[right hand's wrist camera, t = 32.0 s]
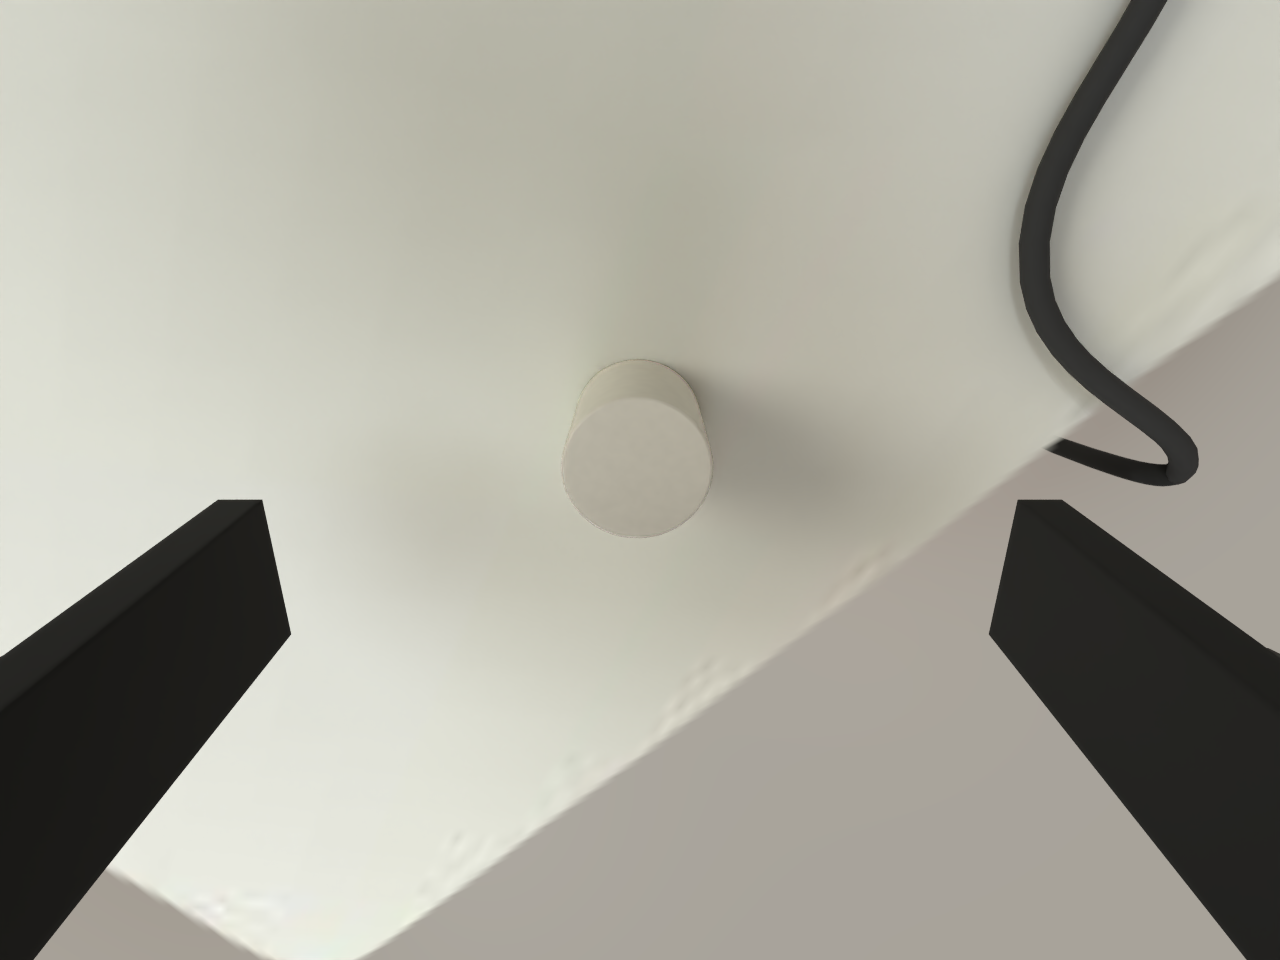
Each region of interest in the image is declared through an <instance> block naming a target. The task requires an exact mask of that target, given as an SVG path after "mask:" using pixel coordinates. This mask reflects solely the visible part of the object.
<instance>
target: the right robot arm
mask: <svg viewBox="0 0 1280 960" xmlns="http://www.w3.org/2000/svg"><path fill="white" fill-rule="evenodd" d="M1166 2H1167V0H1131V2H1130V4H1129V5H1128V7H1127V9H1126V11H1125V12H1124V14H1123V16H1122V18H1121V20H1120V21H1119V23H1118V25H1117V26H1116V28H1115V30H1114V31H1113V33H1112V34H1111V36H1110V38H1109V39H1108V41H1107V43H1106V44H1105V46H1104V48H1103V49H1102V51H1101V53H1100V54H1099V56H1098V58H1097V59H1096V61H1095V63H1094V64H1093V66H1092V68H1091V69H1090V71H1089V73H1088V74H1087V76H1086V78H1085V79H1084V81H1083V83H1082V84H1081V86H1080V87H1079V89H1078V91H1077V92H1076V94H1075V96H1074V98H1073V99H1072V101H1071V103H1070V105H1069V107H1068V108H1067V110H1066V112H1065V114H1064V116H1063V117H1062V119H1061V121H1060V123H1059V125H1058V127H1057V128H1056V130H1055V132H1054V134H1053V136H1052V138H1051V141H1050V143H1049V145H1048V147H1047V149H1046V151H1045V154H1044V156H1043V158H1042V160H1041V162H1040V164H1039V167H1038V169H1037V172H1036V175H1035V178H1034V181H1033V184H1032V187H1031V190H1030V193H1029V196H1028V199H1027V202H1026V205H1025V210H1024V216H1023V222H1022V228H1021V234H1020V240H1019V265H1020V284H1021V289H1022V293H1023V297H1024V301H1025V306H1026V310H1027V312H1028V314H1029V316H1030V318H1031V321H1032V323H1033V325H1034V327H1035V329H1036V332H1037V333H1038V335H1039V336H1040V338H1041V339H1042V341H1043V342H1044V344H1045V345H1046V346H1047V348H1048V349H1049V351H1050V352H1051V354H1052V355H1053V356H1054V357H1055V358H1056V360H1057V361H1058V362H1059V363H1060V364H1061V365H1062V366H1063V367H1064V368H1065V369H1066V371H1067V372H1068V373H1069V374H1070V375H1071V376H1073V377H1074V378H1075V379H1076V380H1077V381H1078V382H1079V383H1080V384H1081V385H1082V386H1084V387H1085V388H1086V389H1087V390H1088V391H1089V392H1091V393H1092V394H1093V395H1094V396H1096V397H1097V398H1098V399H1100V400H1101V401H1102V402H1103V403H1105V404H1106V405H1107V406H1109V407H1110V408H1111V409H1113V410H1114V411H1115V412H1117V413H1118V414H1120V415H1121V416H1122V417H1123V418H1125V419H1126V420H1128V421H1129V422H1130V423H1132V424H1133V425H1134V426H1136V427H1137V428H1139V429H1140V430H1141V431H1142V432H1144V433H1145V434H1146V435H1147V436H1149V437H1150V438H1151V439H1153V440H1154V441H1155V442H1156V443H1157V444H1158V445H1159V446H1160V447H1161V448H1162V449H1163V451H1164V452H1165V454H1166V455H1167V457H1168V463H1167V464H1153V463H1147V462H1141V461H1137V460H1133V459H1129V458H1125V457H1121V456H1118V455H1114V454H1111V453H1108V452H1104V451H1101V450H1097V449H1094V448H1091V447H1088V446H1085V445H1082V444H1079V443H1076V442H1073V441H1070V440H1067V439H1064V438H1059V439H1058V440H1057V441H1055V442H1054V443H1052V444H1051V445H1049V446H1048V447H1047V448H1045V450H1047V451H1049V452H1051V453H1054V454H1056V455H1059V456H1062V457H1064V458H1067V459H1069V460H1072V461H1075V462H1077V463H1080V464H1082V465H1085V466H1087V467H1090V468H1093V469H1096V470H1099V471H1102V472H1105V473H1108V474H1110V475H1113V476H1116V477H1120V478H1123V479H1126V480H1130V481H1133V482H1137V483H1141V484H1146V485H1152V486H1173V485H1179V484H1182V483H1184V482H1186V481H1187V480H1188V479H1189V478H1191V477H1192V476H1193V475H1194V474H1195V473H1196V470H1197V468H1198V461H1199V458H1198V450H1197V447H1196V445H1195V444H1194V442H1193V441H1192V439H1191V437H1190V436H1189V435H1188V434H1187V433H1186V432H1185V431H1184V430H1183V429H1182V428H1181V427H1180V426H1179V425H1178V424H1177V423H1176V422H1175V421H1173V420H1172V419H1171V418H1170V417H1169V416H1167V415H1166V414H1165V413H1164V412H1162V411H1161V410H1160V409H1159V408H1157V407H1156V406H1155V405H1153V404H1152V403H1151V402H1149V401H1148V400H1147V399H1145V398H1144V397H1143V396H1141V395H1140V394H1139V393H1137V392H1136V391H1134V390H1133V389H1132V388H1130V387H1129V386H1128V385H1126V384H1125V383H1124V382H1123V381H1121V380H1120V379H1119V378H1117V377H1116V376H1115V375H1114V374H1112V373H1111V372H1110V371H1109V370H1107V369H1106V368H1105V367H1104V366H1103V365H1102V364H1101V363H1100V362H1099V361H1097V360H1096V359H1095V358H1094V357H1093V356H1092V355H1091V354H1090V353H1089V352H1088V351H1087V350H1086V349H1085V348H1084V347H1083V345H1082V344H1081V343H1080V342H1079V341H1078V340H1077V339H1076V337H1075V336H1074V334H1073V333H1072V331H1071V330H1070V328H1069V327H1068V325H1067V324H1066V322H1065V321H1064V319H1063V317H1062V314H1061V312H1060V310H1059V308H1058V305H1057V303H1056V301H1055V297H1054V293H1053V288H1052V283H1051V279H1050V237H1051V232H1052V226H1053V220H1054V215H1055V209H1056V206H1057V203H1058V200H1059V197H1060V194H1061V191H1062V188H1063V186H1064V183H1065V180H1066V177H1067V174H1068V172H1069V170H1070V168H1071V166H1072V163H1073V161H1074V159H1075V157H1076V155H1077V153H1078V151H1079V149H1080V147H1081V145H1082V143H1083V141H1084V138H1085V137H1086V135H1087V133H1088V131H1089V130H1090V128H1091V126H1092V124H1093V123H1094V121H1095V119H1096V117H1097V116H1098V114H1099V112H1100V110H1101V109H1102V107H1103V105H1104V103H1105V102H1106V100H1107V99H1108V97H1109V95H1110V94H1111V92H1112V91H1113V89H1114V87H1115V86H1116V84H1117V82H1118V81H1119V79H1120V78H1121V76H1122V74H1123V73H1124V71H1125V70H1126V68H1127V66H1128V65H1129V63H1130V61H1131V60H1132V58H1133V57H1134V55H1135V53H1136V52H1137V50H1138V49H1139V47H1140V45H1141V44H1142V42H1143V41H1144V39H1145V37H1146V36H1147V34H1148V32H1149V31H1150V29H1151V28H1152V26H1153V24H1154V22H1155V21H1156V19H1157V17H1158V16H1159V14H1160V12H1161V10H1162V9H1163V7H1164V5H1165V3H1166ZM290 635H291V631H290V627H289V622H288V617H287V613H286V608H285V603H284V599H283V594H282V589H281V585H280V580H279V576H278V571H277V566H276V562H275V557H274V552H273V548H272V543H271V538H270V534H269V529H268V524H267V520H266V515H265V511H264V506H263V501H262V500H217V501H216V502H214V503H213V504H212V505H210V506H209V507H207V508H206V509H205V510H203V511H202V512H201V513H199V514H198V515H196V516H195V517H194V518H192V519H191V520H189V521H188V522H187V523H185V524H184V525H183V526H181V527H180V528H178V529H177V530H176V531H174V532H173V533H172V534H170V535H169V536H167V537H166V538H165V539H163V540H162V541H161V542H159V543H158V544H156V545H155V546H154V547H152V548H151V549H150V550H148V551H147V552H145V553H144V554H143V555H141V556H140V557H138V558H137V559H136V560H134V561H133V562H132V563H130V564H129V565H127V566H126V567H125V568H123V569H122V570H121V571H119V572H118V573H116V574H115V575H114V576H112V577H111V578H110V579H108V580H107V581H105V582H104V583H103V584H101V585H100V586H98V587H97V588H96V589H94V590H93V591H92V592H90V593H89V594H87V595H86V596H85V597H83V598H82V599H81V600H79V601H78V602H76V603H75V604H74V605H72V606H71V607H70V608H68V609H67V610H65V611H64V612H63V613H61V614H60V615H59V616H57V617H56V618H54V619H53V620H52V621H50V622H49V623H47V624H46V625H45V626H43V627H42V628H41V629H39V630H38V631H36V632H35V633H34V634H32V635H31V636H30V637H28V638H27V639H25V640H24V641H23V642H21V643H20V644H19V645H17V646H16V647H14V648H13V649H12V650H10V651H9V652H7V653H6V654H5V655H3V656H1V657H0V960H34V958H35V957H36V956H37V954H38V953H39V952H40V951H41V949H42V948H43V947H44V946H45V944H46V943H47V942H48V941H49V939H50V938H51V937H52V936H53V934H54V933H55V932H56V931H57V929H58V928H59V927H60V925H61V924H62V923H63V922H64V920H65V919H66V918H67V917H68V915H69V914H70V913H71V911H72V910H73V909H74V908H75V907H76V905H77V904H78V903H79V901H80V900H81V899H82V898H83V896H84V895H85V894H86V893H87V891H88V890H89V889H90V888H91V886H92V885H93V884H94V882H95V881H96V880H97V879H98V877H99V876H100V875H101V874H102V872H103V871H104V870H105V869H106V867H107V866H108V865H109V864H110V862H111V861H112V860H113V859H114V857H115V856H116V855H117V853H118V852H119V851H120V850H121V848H122V847H123V846H124V845H125V843H126V842H127V841H128V840H129V838H130V837H131V836H132V835H133V833H134V832H135V831H136V829H137V828H138V827H139V826H140V824H141V823H142V822H143V821H144V819H145V818H146V817H147V816H148V814H149V813H150V812H151V811H152V809H153V808H154V807H155V806H156V804H157V803H158V802H159V800H160V799H161V798H162V797H163V795H164V794H165V793H166V792H167V790H168V789H169V788H170V787H171V785H172V784H173V783H174V782H175V780H176V779H177V778H178V776H179V775H180V774H181V773H182V771H183V770H184V769H185V768H186V766H187V765H188V764H189V763H190V761H191V760H192V759H193V758H194V756H195V755H196V754H197V752H198V751H199V750H200V749H201V747H202V746H203V745H204V744H205V742H206V741H207V740H208V739H209V737H210V736H211V735H212V734H213V732H214V731H215V730H216V728H217V727H218V726H219V725H220V723H221V722H222V721H223V720H224V718H225V717H226V716H227V715H228V713H229V712H230V711H231V710H232V708H233V707H234V706H235V704H236V703H237V702H238V701H239V699H240V698H241V697H242V696H243V694H244V693H245V692H246V691H247V689H248V688H249V687H250V686H251V684H252V683H253V682H254V681H255V679H256V678H257V677H258V675H259V674H260V673H261V672H262V670H263V669H264V668H265V667H266V665H267V664H268V663H269V662H270V660H271V659H272V658H273V657H274V655H275V654H276V653H277V651H278V650H279V649H280V648H281V646H282V645H283V644H284V643H285V641H286V640H287V639H288V638H289V636H290ZM989 635H990V636H991V638H992V639H993V640H994V641H995V643H996V644H997V645H998V646H999V648H1000V649H1001V650H1002V651H1003V653H1004V654H1005V655H1006V656H1007V658H1008V659H1009V660H1010V662H1011V663H1012V664H1013V665H1014V667H1015V668H1016V669H1017V670H1018V672H1019V673H1020V674H1021V675H1022V677H1023V678H1024V679H1025V681H1026V682H1027V683H1028V684H1029V686H1030V687H1031V688H1032V689H1033V691H1034V692H1035V693H1036V694H1037V696H1038V697H1039V698H1040V699H1041V701H1042V702H1043V703H1044V704H1045V706H1046V707H1047V708H1048V709H1049V711H1050V712H1051V713H1052V715H1053V716H1054V717H1055V718H1056V720H1057V721H1058V722H1059V723H1060V725H1061V726H1062V727H1063V728H1064V730H1065V731H1066V732H1067V734H1068V735H1069V736H1070V737H1071V738H1072V740H1073V741H1074V742H1075V744H1076V745H1077V746H1078V747H1079V749H1080V750H1081V751H1082V752H1083V754H1084V755H1085V756H1086V758H1087V759H1088V760H1089V761H1090V763H1091V764H1092V765H1093V766H1094V768H1095V769H1096V770H1097V771H1098V773H1099V774H1100V775H1101V776H1102V778H1103V779H1104V780H1105V781H1106V783H1107V784H1108V785H1109V787H1110V788H1111V789H1112V790H1113V792H1114V793H1115V794H1116V795H1117V797H1118V798H1119V799H1120V800H1121V802H1122V803H1123V804H1124V806H1125V807H1126V808H1127V809H1128V811H1129V812H1130V813H1131V814H1132V816H1133V817H1134V818H1135V819H1136V821H1137V822H1138V823H1139V824H1140V826H1141V827H1142V828H1143V829H1144V831H1145V832H1146V833H1147V835H1148V836H1149V837H1150V838H1151V840H1152V841H1153V842H1154V843H1155V845H1156V846H1157V847H1158V848H1159V850H1160V851H1161V852H1162V853H1163V855H1164V856H1165V857H1166V859H1167V860H1168V861H1169V862H1170V864H1171V865H1172V866H1173V867H1174V869H1175V870H1176V871H1177V872H1178V874H1179V875H1180V876H1181V877H1182V879H1183V880H1184V881H1185V883H1186V884H1187V885H1188V886H1189V888H1190V889H1191V890H1192V891H1193V893H1194V894H1195V895H1196V896H1197V898H1198V899H1199V900H1200V901H1201V903H1202V904H1203V905H1204V906H1205V908H1206V909H1207V910H1208V912H1209V913H1210V914H1211V915H1212V917H1213V918H1214V919H1215V920H1216V922H1217V923H1218V924H1219V925H1220V927H1221V928H1222V929H1223V931H1224V932H1225V933H1226V934H1227V936H1228V937H1229V938H1230V939H1231V941H1232V942H1233V943H1234V944H1235V946H1236V947H1237V948H1238V949H1239V951H1240V952H1241V953H1242V954H1243V956H1244V957H1245V958H1246V959H1247V960H1280V654H1279V653H1277V652H1275V651H1273V650H1271V649H1269V648H1266V647H1264V646H1263V645H1261V644H1260V643H1259V642H1257V641H1256V640H1255V639H1253V638H1252V637H1250V636H1249V635H1248V634H1246V633H1245V632H1244V631H1242V630H1241V629H1239V628H1238V627H1237V626H1235V625H1234V624H1233V623H1231V622H1230V621H1228V620H1227V619H1226V618H1224V617H1223V616H1221V615H1220V614H1219V613H1217V612H1216V611H1215V610H1213V609H1212V608H1210V607H1209V606H1208V605H1206V604H1205V603H1204V602H1202V601H1201V600H1199V599H1198V598H1197V597H1195V596H1194V595H1193V594H1191V593H1190V592H1188V591H1187V590H1186V589H1184V588H1183V587H1181V586H1180V585H1179V584H1177V583H1176V582H1175V581H1173V580H1172V579H1170V578H1169V577H1168V576H1166V575H1165V574H1164V573H1162V572H1161V571H1159V570H1158V569H1157V568H1155V567H1154V566H1153V565H1151V564H1150V563H1148V562H1147V561H1146V560H1144V559H1143V558H1142V557H1140V556H1139V555H1137V554H1136V553H1135V552H1133V551H1132V550H1130V549H1129V548H1128V547H1126V546H1125V545H1124V544H1122V543H1121V542H1119V541H1118V540H1117V539H1115V538H1114V537H1113V536H1111V535H1110V534H1108V533H1107V532H1106V531H1104V530H1103V529H1102V528H1100V527H1099V526H1097V525H1096V524H1095V523H1093V522H1092V521H1091V520H1089V519H1088V518H1086V517H1085V516H1084V515H1082V514H1081V513H1079V512H1078V511H1077V510H1075V509H1074V508H1073V507H1071V506H1070V505H1068V504H1067V503H1066V502H1064V501H1063V500H1018V501H1017V506H1016V511H1015V515H1014V520H1013V524H1012V529H1011V534H1010V538H1009V543H1008V548H1007V552H1006V557H1005V562H1004V566H1003V571H1002V576H1001V580H1000V585H999V589H998V594H997V599H996V603H995V608H994V613H993V617H992V622H991V627H990V631H989Z"/></svg>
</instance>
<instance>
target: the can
mask: <svg viewBox="0 0 1280 960" xmlns="http://www.w3.org/2000/svg"><path fill="white" fill-rule="evenodd" d="M561 473H562V479H563V484H564V487H565V490H566V493H567V495H568V497H569V499H570V501H571V502H572V504H573V505H574V507H575V508H576V509H577V510H578V512H579V513H580V514H581V515H582V516H583V517H584V518H585V519H586V520H588V521H589V522H590V523H592V524H593V525H594V526H596V527H598V528H600V529H602V530H603V531H606V532H608V533H611V534H614V535H618V536H622V537H629V538H645V537H652V536H657V535H660V534H663V533H666V532H669V531H671V530H673V529H675V528H677V527H678V526H680V525H681V524H683V523H684V522H686V521H687V520H688V519H689V518H690V517H692V515H693V514H694V513H695V512H696V511H697V510H698V509H699V507H700V506H701V504H702V503H703V501H704V500H705V498H706V496H707V494H708V491H709V488H710V485H711V481H712V476H713V458H712V453H711V449H710V445H709V441H708V438H707V434H706V430H705V427H704V423H703V420H702V416H701V412H700V409H699V405H698V402H697V399H696V397H695V395H694V393H693V391H692V389H691V388H690V386H689V385H688V383H687V382H686V381H685V380H684V379H683V378H682V377H681V376H680V375H679V374H678V373H676V372H675V371H674V370H672V369H670V368H669V367H667V366H665V365H662V364H660V363H657V362H653V361H648V360H626V361H622V362H618V363H616V364H613V365H610V366H608V367H607V368H605V369H603V370H602V371H600V372H599V373H598V374H596V375H595V376H594V377H593V378H592V379H591V380H590V381H589V382H588V384H587V385H586V386H585V388H584V389H583V391H582V393H581V395H580V397H579V400H578V403H577V406H576V409H575V413H574V416H573V419H572V423H571V426H570V429H569V433H568V436H567V439H566V443H565V446H564V450H563V454H562V461H561Z"/></svg>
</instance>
